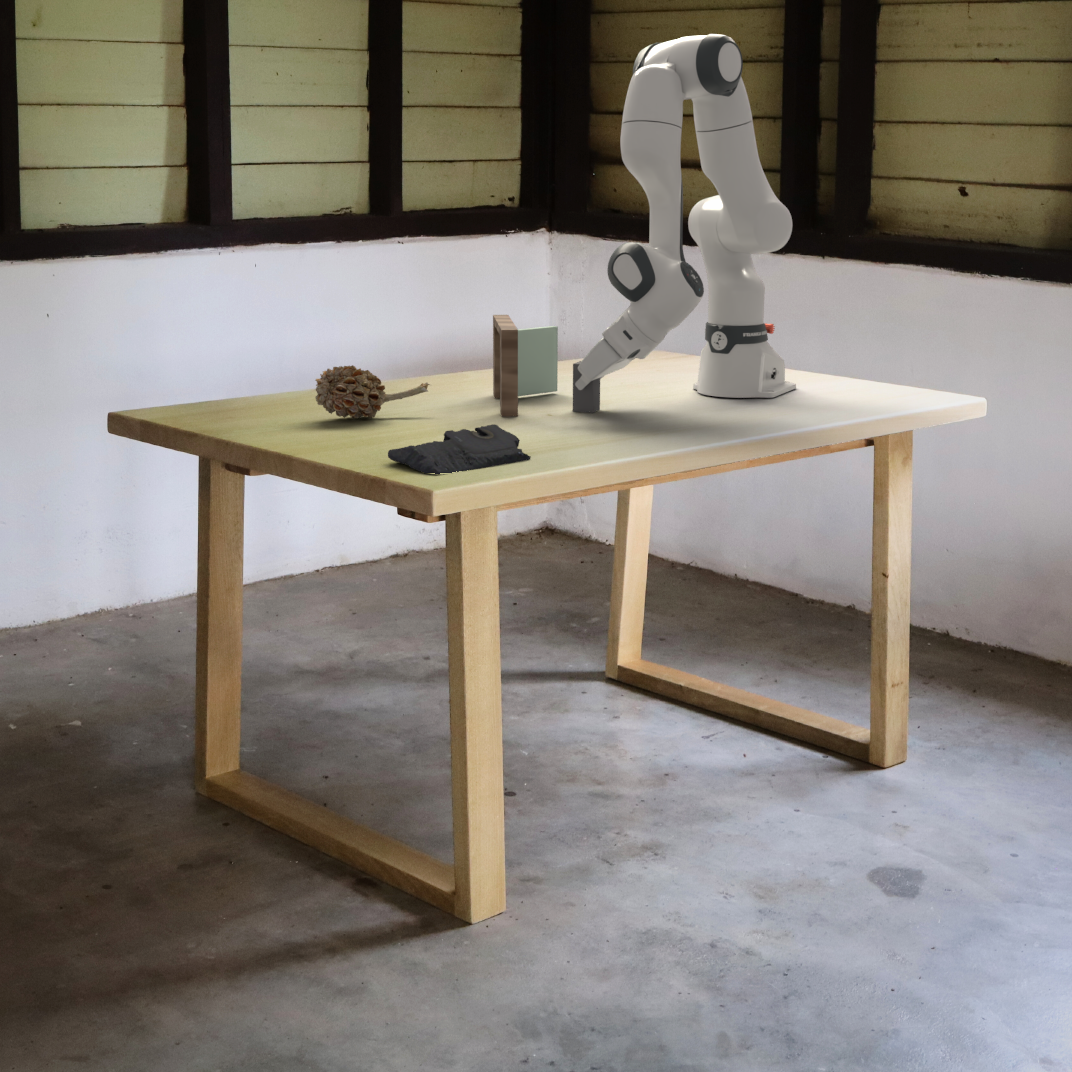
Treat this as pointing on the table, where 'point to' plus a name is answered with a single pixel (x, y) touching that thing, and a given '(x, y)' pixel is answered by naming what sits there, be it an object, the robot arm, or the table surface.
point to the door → (537, 360)
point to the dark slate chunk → (462, 451)
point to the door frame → (505, 364)
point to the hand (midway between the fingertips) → (583, 385)
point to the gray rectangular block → (585, 393)
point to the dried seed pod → (356, 392)
